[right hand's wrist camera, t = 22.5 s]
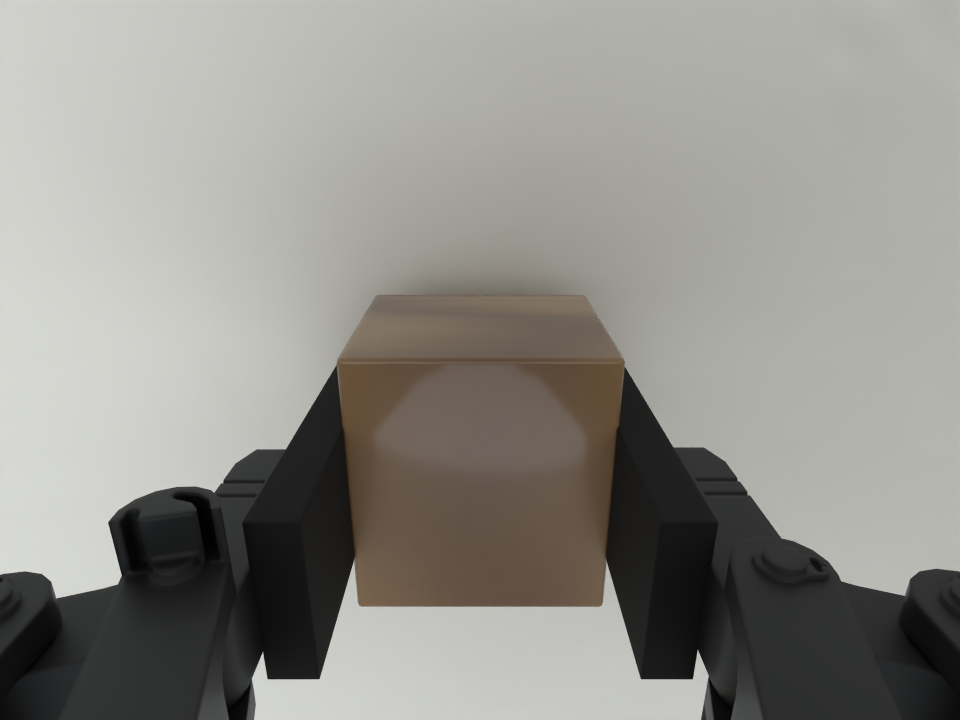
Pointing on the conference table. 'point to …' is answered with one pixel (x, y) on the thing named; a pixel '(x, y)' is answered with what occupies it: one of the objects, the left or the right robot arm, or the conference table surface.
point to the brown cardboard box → (480, 450)
